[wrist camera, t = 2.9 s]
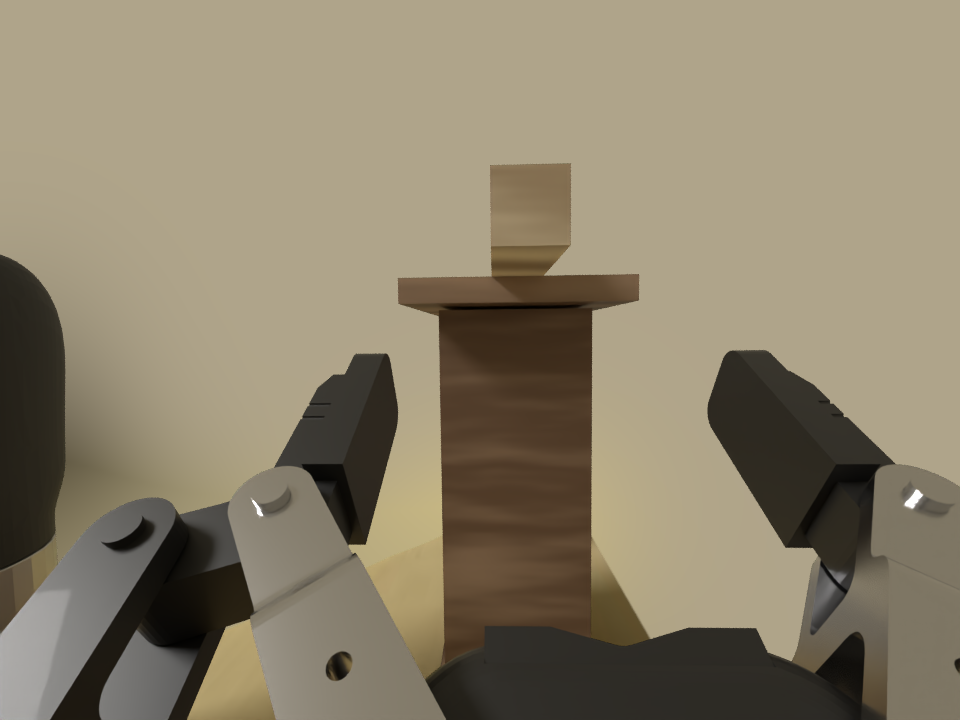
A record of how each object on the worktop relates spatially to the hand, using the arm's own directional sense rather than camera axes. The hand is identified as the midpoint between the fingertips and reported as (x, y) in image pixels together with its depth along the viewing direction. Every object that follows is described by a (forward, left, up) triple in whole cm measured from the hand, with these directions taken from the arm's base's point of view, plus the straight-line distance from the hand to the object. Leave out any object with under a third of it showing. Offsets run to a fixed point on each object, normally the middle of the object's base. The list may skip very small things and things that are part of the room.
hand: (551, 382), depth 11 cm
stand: (-18, +18, -28) cm, 37 cm away
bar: (-18, +18, +4) cm, 26 cm away
